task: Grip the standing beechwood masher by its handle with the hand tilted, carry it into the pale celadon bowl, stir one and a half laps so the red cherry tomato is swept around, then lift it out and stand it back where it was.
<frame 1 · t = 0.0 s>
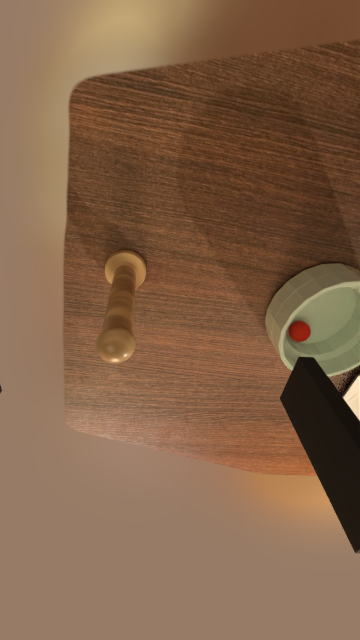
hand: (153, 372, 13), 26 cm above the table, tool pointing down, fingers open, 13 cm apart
bowl: (315, 310, 44), on the table
tomato: (299, 331, 44), point 2 cm above the table, touching bowl
masher: (126, 268, 38), on the table
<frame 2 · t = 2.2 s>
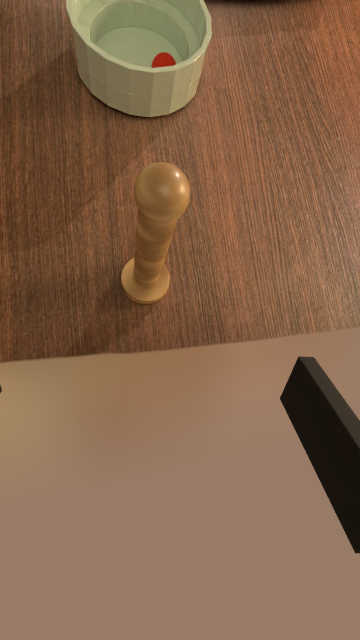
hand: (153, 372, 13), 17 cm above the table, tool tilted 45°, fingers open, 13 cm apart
bowl: (139, 68, 38), on the table
tomato: (164, 69, 36), point 2 cm above the table, touching bowl
masher: (145, 281, 32), on the table
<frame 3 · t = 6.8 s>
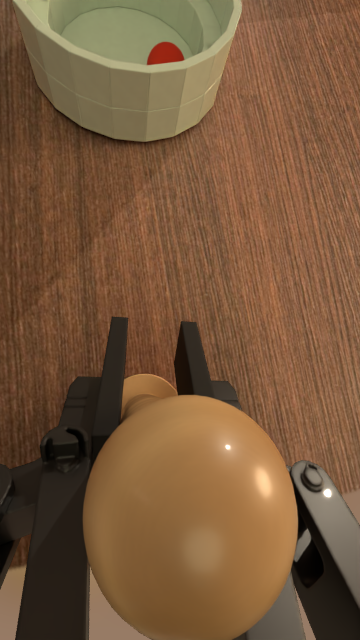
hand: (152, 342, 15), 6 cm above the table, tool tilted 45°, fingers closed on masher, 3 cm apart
bowl: (129, 68, 25), on the table
tomato: (166, 67, 23), point 2 cm above the table, touching bowl
masher: (142, 413, 20), on the table, touching gripper
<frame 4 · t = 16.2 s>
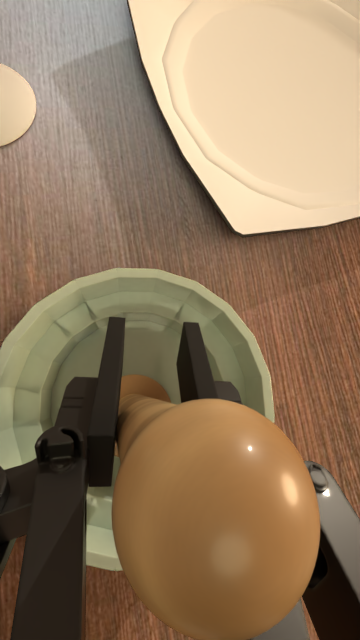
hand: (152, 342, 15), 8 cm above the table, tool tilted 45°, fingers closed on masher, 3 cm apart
bowl: (136, 398, 22), on the table
plate: (289, 101, 30), on the table
masher: (131, 413, 20), point 2 cm above the table, touching gripper, tomato
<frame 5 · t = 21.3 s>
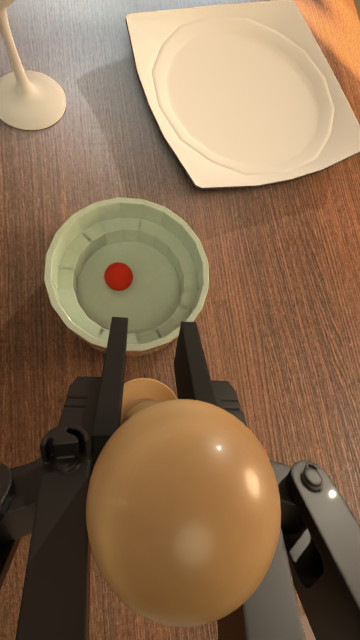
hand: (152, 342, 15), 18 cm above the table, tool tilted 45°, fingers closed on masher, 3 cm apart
wineglass: (29, 102, 37), on the table
bowl: (130, 289, 34), on the table
tomato: (118, 276, 32), point 2 cm above the table, tilted 149°, touching bowl
plate: (243, 102, 43), on the table
masher: (142, 416, 20), point 12 cm above the table, touching gripper
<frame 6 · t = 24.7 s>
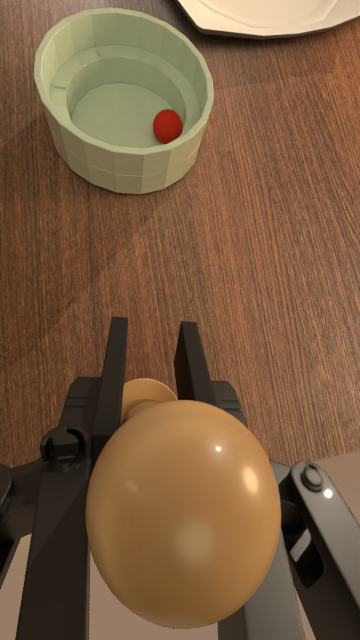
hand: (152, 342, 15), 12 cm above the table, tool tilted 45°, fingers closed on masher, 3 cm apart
bowl: (128, 132, 32), on the table
tomato: (167, 127, 30), point 2 cm above the table, tilted 56°, touching bowl
masher: (142, 417, 20), point 6 cm above the table, touching gripper
when the fingers open (6 cm above the table, at t = 26.6 s): masher stays where it is, on the table.
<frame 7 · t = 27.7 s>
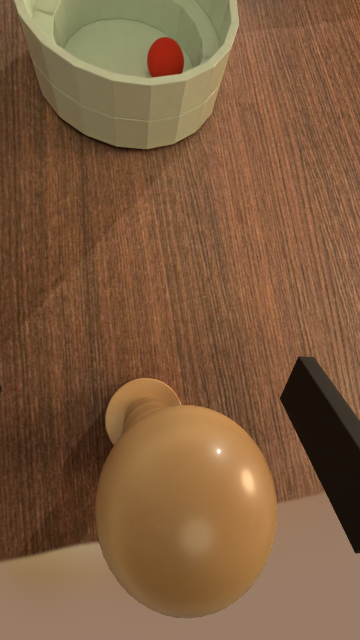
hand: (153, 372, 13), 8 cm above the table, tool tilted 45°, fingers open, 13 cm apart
bowl: (130, 78, 26), on the table
tomato: (165, 62, 25), point 2 cm above the table, tilted 12°, touching bowl
masher: (144, 415, 21), on the table
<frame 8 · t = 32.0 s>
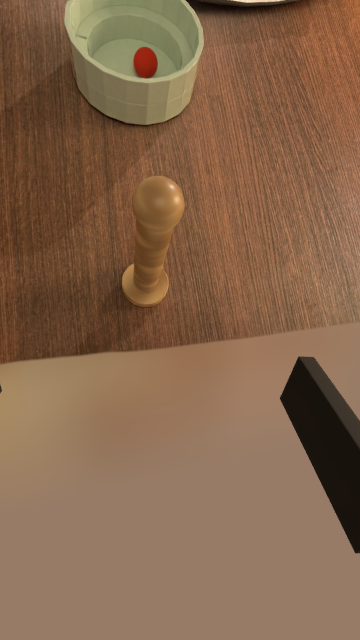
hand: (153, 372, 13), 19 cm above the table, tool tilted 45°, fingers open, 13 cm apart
bowl: (135, 78, 39), on the table
tomato: (145, 63, 37), point 2 cm above the table, tilted 53°, touching bowl
masher: (144, 285, 34), on the table
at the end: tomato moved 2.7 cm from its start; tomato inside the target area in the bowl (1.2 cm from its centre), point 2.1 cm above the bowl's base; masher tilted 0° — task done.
